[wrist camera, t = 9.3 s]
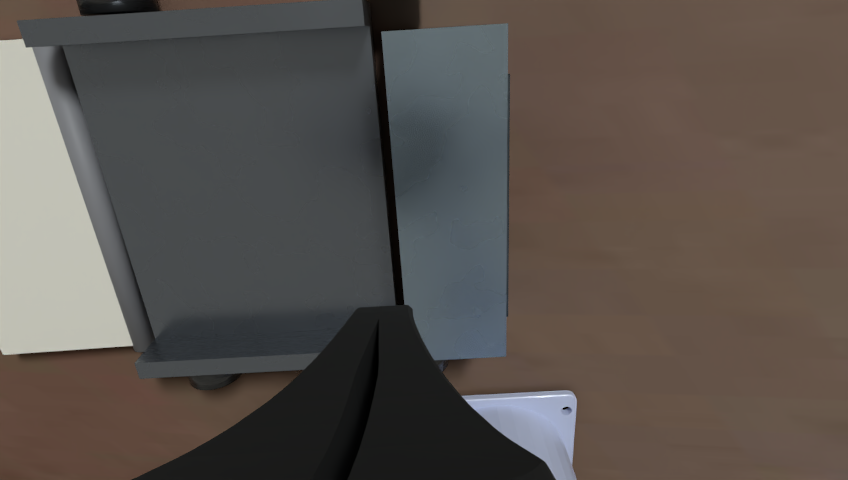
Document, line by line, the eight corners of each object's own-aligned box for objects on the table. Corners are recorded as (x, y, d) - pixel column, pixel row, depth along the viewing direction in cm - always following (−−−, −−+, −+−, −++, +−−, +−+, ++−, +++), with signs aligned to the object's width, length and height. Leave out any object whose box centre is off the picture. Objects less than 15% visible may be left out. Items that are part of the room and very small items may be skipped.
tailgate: (151, 351, 23) (3, 361, 23) (162, 337, 24) (21, 346, 24) (46, 28, 18) (-146, 40, 17) (67, 28, 19) (-115, 39, 19)
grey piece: (495, 342, 24) (509, 399, 20) (175, 360, 24) (132, 419, 21) (494, -40, 18) (513, -58, 14) (62, -12, 18) (-29, -22, 14)
